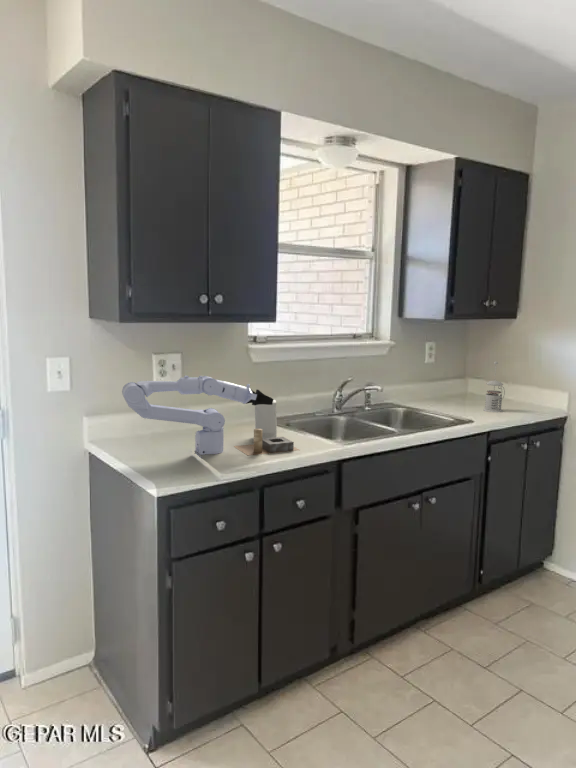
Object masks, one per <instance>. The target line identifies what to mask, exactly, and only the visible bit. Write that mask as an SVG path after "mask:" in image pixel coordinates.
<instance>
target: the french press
mask: <svg viewBox="0 0 576 768" xmlns="http://www.w3.org/2000/svg"><path fill="white" fill-rule="evenodd" d="M493 364H494V365H498V364H499V362H498V361H494V362H493ZM496 370H497V366H495V369H494V371H495V372H494V375H496V373H497V371H496ZM486 385H488V386H493V390H487V391H486V393H485V403H484V405H485V406H484V408H483V409H482V411H485V412H489V413H503V412H504V410H503V409H502V402H503V401H502V400H503V399H504V398H505V395H506V391H505V388H504V387H503V385H504V383H502V382H501V381H499V380H496V379H494V380H490V381H488V382H486ZM495 386H496V387H498V389H500V391H499V390H495V388H496V387H495ZM502 388H503V389H502ZM502 391H503V393H502Z"/></svg>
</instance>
